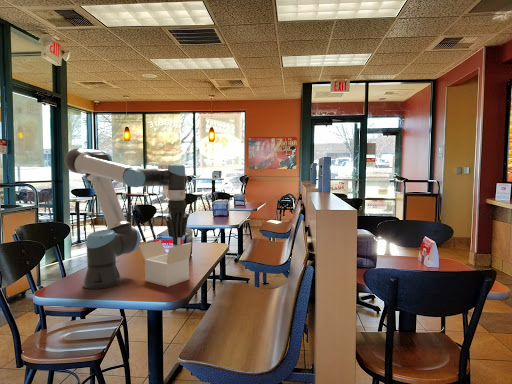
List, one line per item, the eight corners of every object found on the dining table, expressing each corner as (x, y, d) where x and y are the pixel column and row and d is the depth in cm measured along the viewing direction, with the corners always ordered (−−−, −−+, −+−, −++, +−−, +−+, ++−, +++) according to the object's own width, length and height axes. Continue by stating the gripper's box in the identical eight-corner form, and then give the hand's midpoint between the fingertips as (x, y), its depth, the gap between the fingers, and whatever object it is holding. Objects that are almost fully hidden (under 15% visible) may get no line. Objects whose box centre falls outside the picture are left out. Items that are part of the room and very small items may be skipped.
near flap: (167, 263, 154) (168, 264, 153) (169, 247, 152) (169, 247, 152) (188, 257, 164) (189, 258, 164) (190, 242, 163) (191, 242, 162)
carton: (167, 286, 154) (166, 263, 154) (145, 280, 163) (144, 259, 162) (189, 279, 165) (188, 257, 164) (167, 274, 173) (166, 253, 173)
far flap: (138, 245, 164) (137, 245, 165) (145, 259, 162) (144, 259, 162) (160, 240, 175) (159, 241, 175) (166, 253, 173) (166, 254, 173)
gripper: (171, 201, 150) (172, 256, 152) (193, 198, 161) (193, 250, 162) (159, 200, 154) (160, 253, 156) (181, 198, 165) (182, 248, 166)
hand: (177, 251), depth 159 cm, fingers closed
